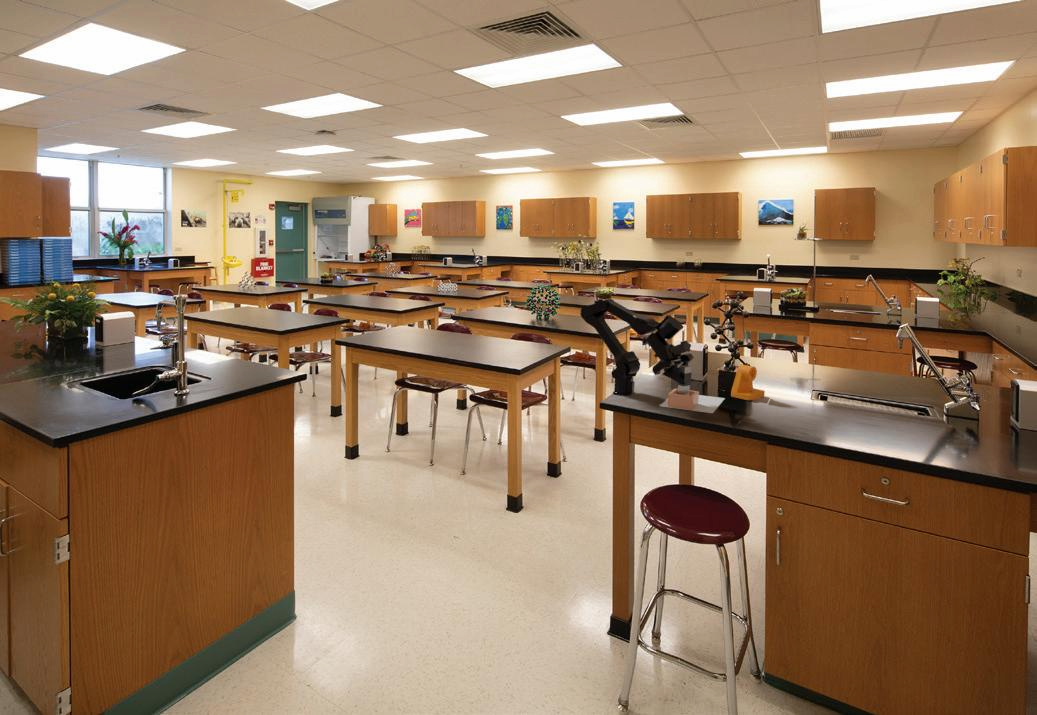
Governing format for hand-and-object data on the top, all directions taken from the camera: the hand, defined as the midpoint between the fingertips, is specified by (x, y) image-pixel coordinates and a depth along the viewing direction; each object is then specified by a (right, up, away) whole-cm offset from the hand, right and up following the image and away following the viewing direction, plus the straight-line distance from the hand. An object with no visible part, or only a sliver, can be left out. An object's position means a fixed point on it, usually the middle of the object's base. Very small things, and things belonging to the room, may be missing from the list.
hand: (687, 383), depth 203 cm
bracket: (+26, -6, +14) cm, 30 cm away
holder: (-1, -8, +2) cm, 8 cm away
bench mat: (+4, -7, +7) cm, 11 cm away
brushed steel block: (-1, -6, +2) cm, 7 cm away
